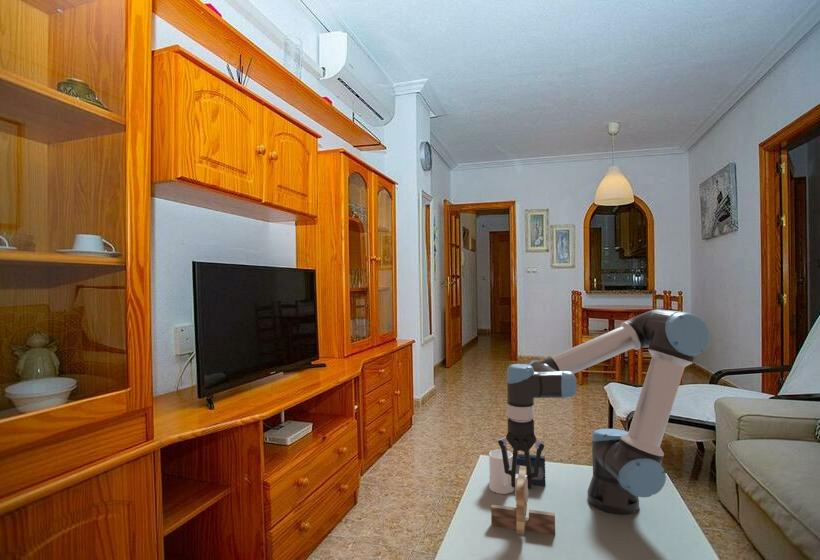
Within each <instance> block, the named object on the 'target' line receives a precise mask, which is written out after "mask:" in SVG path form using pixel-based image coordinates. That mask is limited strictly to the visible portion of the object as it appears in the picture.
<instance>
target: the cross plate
mask: <svg viewBox="0 0 820 560" xmlns="http://www.w3.org/2000/svg"><path fill="white" fill-rule="evenodd" d="M525 475H527V470H526V467H524V466H520V468H519V475H518V481H517V487H516V500H515V503H516V504H515V508H516V523H517V529H516V534H517V535H525V517H526V516H527V509H528V502H527V501H525Z"/></svg>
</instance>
